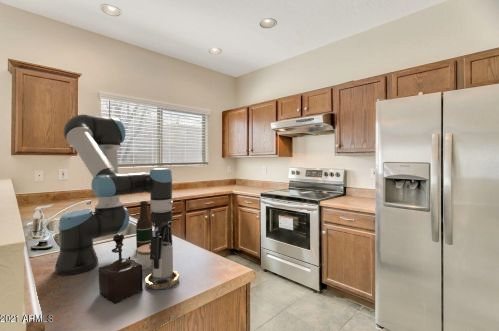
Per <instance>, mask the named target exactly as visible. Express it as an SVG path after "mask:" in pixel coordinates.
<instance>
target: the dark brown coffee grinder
mask: <svg viewBox="0 0 499 331" xmlns="http://www.w3.org/2000/svg"><path fill="white" fill-rule="evenodd" d="M124 239H125V236H124V234H122V233H117V234H114V236H113V238H112V240H113V241H114V243H115V248H113V249H111V253H115V254H117V253H118V259H117V260H115V261H113V262H111V263H108V264H106V265H103V266H100V267H99V268H98V269H97V270H98V288H99V295H100V296H101V297H102V298H103V299H105V300H106V301H108V302H110V303H111V304H114V305H115V304H117V303H120V302H123V301H124V300H127V299H129V298H131V297H133V296H135V295H138V294H139V293H141V292H143V291H144V288H143V284H144V283H143V280H144V279H143V266H142V265H141V264H140V263H139V262H136V261H135V260H134V259H132V258H131V256H128V257H127V258H123V257H122V252H123V248H122V247H123V246H124V242H123V241H124Z"/></svg>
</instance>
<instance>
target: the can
mask: <svg viewBox="0 0 499 331" xmlns="http://www.w3.org/2000/svg"><path fill="white" fill-rule="evenodd" d="M173 248H174V246H173V245H172V246H171V243H170V242H162V249H161V256H160V258H162V276H161V277H154V275H153V260H152V268H151V274H152V276H153V277H154V278H155V279H166V278H168V277H170V276H171V274H172V273H173V271H174V259H173V258H174V256H173V255H174V253H173V252H174V251H173V250H174V249H173Z"/></svg>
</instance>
